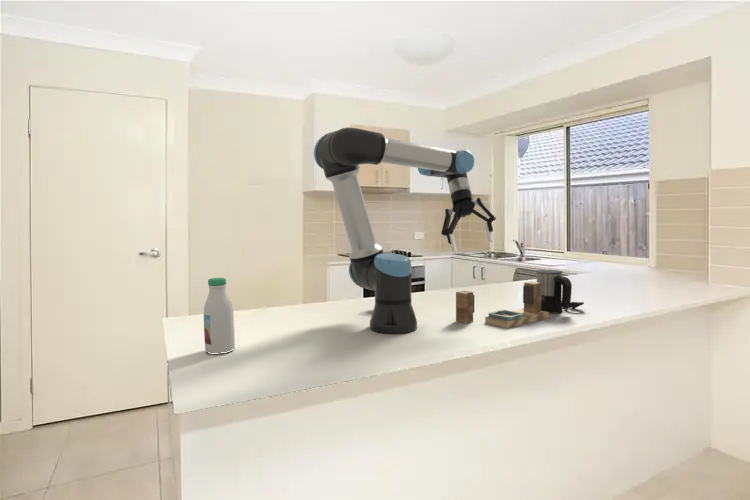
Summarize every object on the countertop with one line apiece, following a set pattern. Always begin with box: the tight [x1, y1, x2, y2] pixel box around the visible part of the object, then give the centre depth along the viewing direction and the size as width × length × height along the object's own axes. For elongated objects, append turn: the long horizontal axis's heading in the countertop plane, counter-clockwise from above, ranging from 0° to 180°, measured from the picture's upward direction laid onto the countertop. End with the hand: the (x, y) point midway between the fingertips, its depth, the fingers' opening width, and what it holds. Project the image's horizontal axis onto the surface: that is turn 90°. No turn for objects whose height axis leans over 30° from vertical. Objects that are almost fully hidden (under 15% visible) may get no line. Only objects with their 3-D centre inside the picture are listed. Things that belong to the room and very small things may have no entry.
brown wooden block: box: [455, 290, 475, 324], centre depth 153 cm, size 5×4×10 cm
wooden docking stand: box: [484, 281, 550, 329], centre depth 153 cm, size 22×9×12 cm, turn 125°
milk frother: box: [535, 269, 585, 314], centre depth 167 cm, size 14×16×15 cm
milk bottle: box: [203, 277, 236, 353], centre depth 124 cm, size 8×8×20 cm
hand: (472, 246), depth 163 cm, fingers open, 13 cm apart
